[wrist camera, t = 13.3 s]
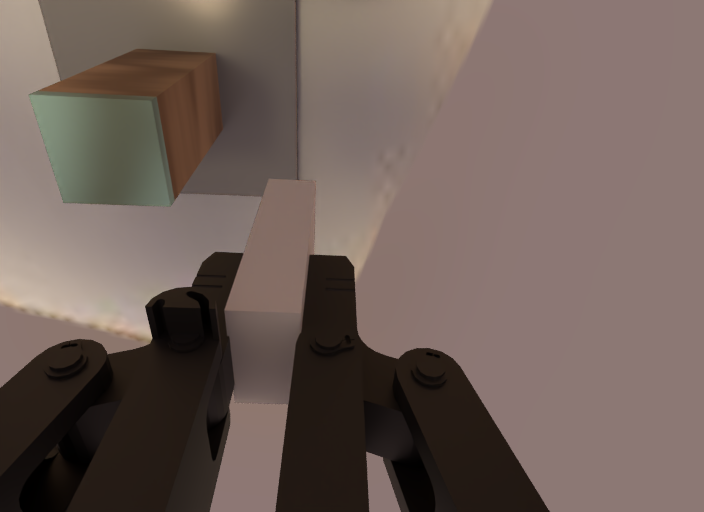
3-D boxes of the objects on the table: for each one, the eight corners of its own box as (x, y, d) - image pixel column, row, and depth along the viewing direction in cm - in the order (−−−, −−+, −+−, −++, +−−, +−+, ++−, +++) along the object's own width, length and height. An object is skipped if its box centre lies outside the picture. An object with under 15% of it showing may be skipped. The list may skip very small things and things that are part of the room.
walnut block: (151, 125, 29) (63, 202, 19) (136, 48, 26) (28, 94, 17) (223, 129, 29) (170, 206, 20) (215, 52, 26) (151, 100, 17)
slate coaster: (96, 184, 31) (90, 189, 31) (30, -60, 24) (21, -60, 23) (297, 192, 32) (296, 197, 32) (295, -41, 25) (294, -41, 24)
